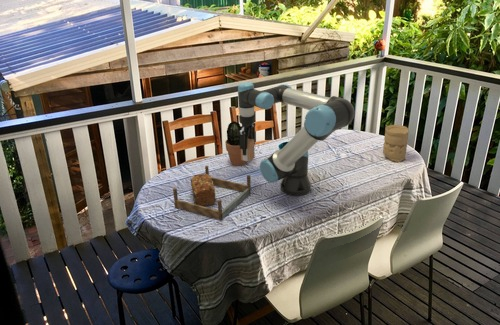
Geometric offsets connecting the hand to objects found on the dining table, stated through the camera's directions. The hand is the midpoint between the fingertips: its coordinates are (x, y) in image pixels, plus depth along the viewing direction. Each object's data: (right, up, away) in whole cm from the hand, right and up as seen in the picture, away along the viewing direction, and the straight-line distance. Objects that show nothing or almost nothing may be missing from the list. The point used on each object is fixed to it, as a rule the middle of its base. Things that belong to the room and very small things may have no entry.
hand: (248, 158), depth 228 cm
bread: (-22, -20, -5) cm, 30 cm away
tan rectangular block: (0, 0, 0) cm, 0 cm away
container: (+84, 0, +31) cm, 89 cm away
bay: (-16, -21, -9) cm, 28 cm away
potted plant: (-6, -2, +31) cm, 31 cm away
